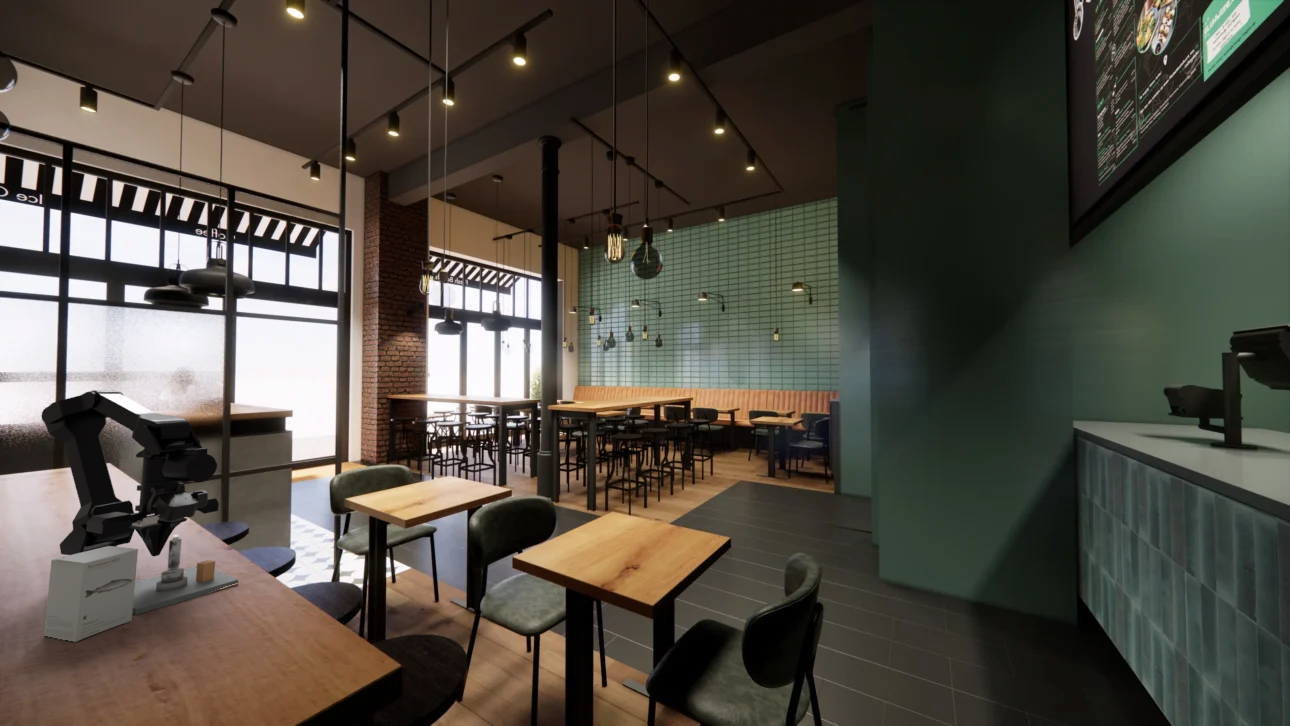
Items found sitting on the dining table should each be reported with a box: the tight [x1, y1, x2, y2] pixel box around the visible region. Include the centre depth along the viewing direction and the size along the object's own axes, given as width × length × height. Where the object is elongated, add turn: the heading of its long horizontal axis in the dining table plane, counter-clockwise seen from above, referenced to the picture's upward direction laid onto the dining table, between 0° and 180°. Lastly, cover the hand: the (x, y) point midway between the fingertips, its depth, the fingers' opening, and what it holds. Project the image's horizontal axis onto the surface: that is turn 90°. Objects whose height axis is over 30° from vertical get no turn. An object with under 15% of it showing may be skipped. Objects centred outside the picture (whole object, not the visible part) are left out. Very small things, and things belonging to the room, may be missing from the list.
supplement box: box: [43, 546, 139, 643], centre depth 79 cm, size 7×7×13 cm
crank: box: [160, 533, 185, 583], centre depth 96 cm, size 10×3×7 cm, turn 44°
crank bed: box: [132, 559, 239, 616], centre depth 94 cm, size 16×15×4 cm
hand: (155, 555), depth 96 cm, fingers closed
